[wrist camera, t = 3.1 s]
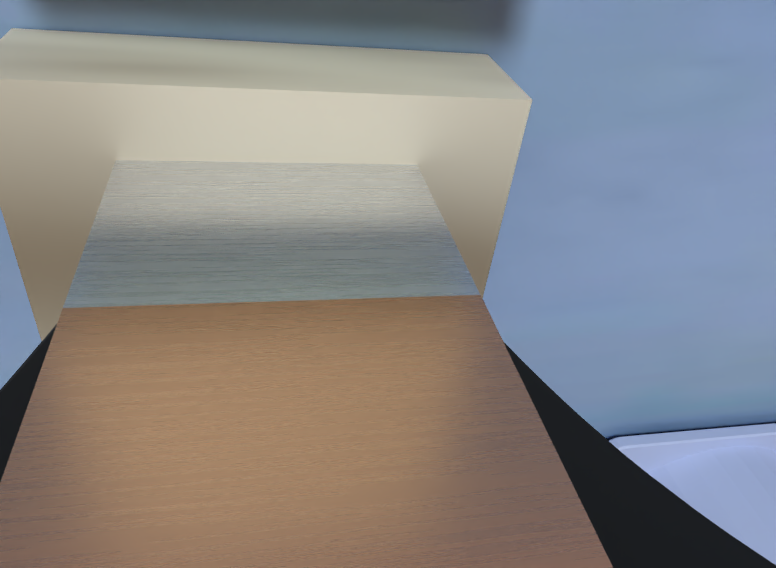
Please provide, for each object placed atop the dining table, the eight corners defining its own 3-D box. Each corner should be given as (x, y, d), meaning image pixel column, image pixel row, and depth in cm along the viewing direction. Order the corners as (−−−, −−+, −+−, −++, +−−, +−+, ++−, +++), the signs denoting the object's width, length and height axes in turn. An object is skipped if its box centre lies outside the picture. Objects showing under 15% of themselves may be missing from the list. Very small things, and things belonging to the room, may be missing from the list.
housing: (382, 404, 12) (473, 799, 7) (159, 419, 11) (97, 878, 6) (416, 164, 9) (616, 573, 4) (115, 160, 8) (-67, 668, 3)
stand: (426, 364, 14) (448, 432, 13) (99, 382, 13) (78, 462, 11) (487, 54, 10) (531, 99, 8) (11, 28, 9) (-40, 77, 7)
